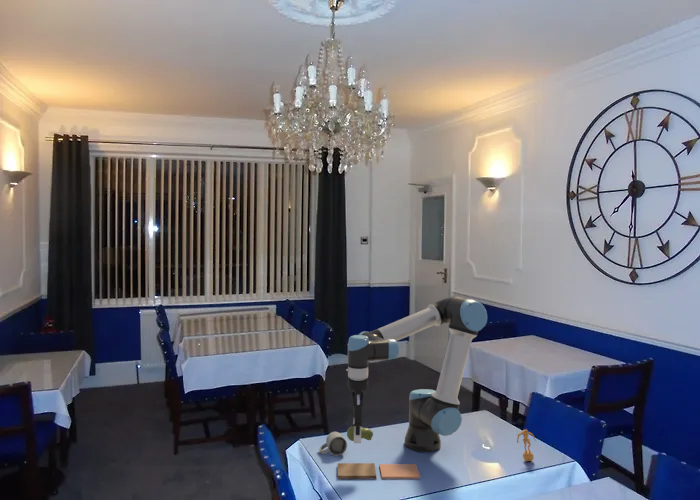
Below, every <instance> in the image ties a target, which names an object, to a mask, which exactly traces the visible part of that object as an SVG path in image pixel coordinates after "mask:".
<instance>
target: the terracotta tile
mask: <svg viewBox="0 0 700 500" xmlns="http://www.w3.org/2000/svg"><path fill="white" fill-rule="evenodd" d="M379 472H380V475H381V479H382V480H391V479H392V480H399V479H400V480H402V479H403V480H408V479H409V480H416V479H417V480H420V479H421V475H420V472H419V469H418V467H417V464H416V463H415V464H414V463H405V464H404V463H403V464H402V463H399V464H398V463H393V464H392V463H390V464H389V463H388V464H387V463H383V464H382V463H380V464H379Z"/></svg>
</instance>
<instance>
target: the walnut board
mask: <svg viewBox="0 0 700 500" xmlns="http://www.w3.org/2000/svg"><path fill="white" fill-rule="evenodd" d="M376 471H377V469H376V465H375V463H374V462H362V463H361V462H357V463H353V462H350V463H349V462H346V463H345V462H344V463H343V462H339V463H337V479H338V480H377V472H376Z"/></svg>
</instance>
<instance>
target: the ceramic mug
mask: <svg viewBox="0 0 700 500" xmlns="http://www.w3.org/2000/svg"><path fill="white" fill-rule="evenodd" d="M347 448H348V442H347V440H346V438H345V437H344V435H342V434H341V433H340V432H338V431H332V432H330V433H329V434H328V435H327V436H326V440H325V443H324V444H322V445H321V446H320V447H319V450H318V451H319V453H320V454H321V455H326V454H328V453H330V454H331V455H332V456H336V457H337V456H342V455H343V454H344V453H345V452H346V451H347Z"/></svg>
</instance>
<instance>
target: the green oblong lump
mask: <svg viewBox="0 0 700 500" xmlns="http://www.w3.org/2000/svg"><path fill="white" fill-rule="evenodd" d="M346 436H347V439H348V440H349V441H351V442H354V426H352V425H351V426H350V427H348V429H347V430H346ZM373 436H374V433H373V430H371V429H370V428H368V427H362V426H361V440H362V439H365V440H367V441H371V440H373V439H372V437H373Z"/></svg>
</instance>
